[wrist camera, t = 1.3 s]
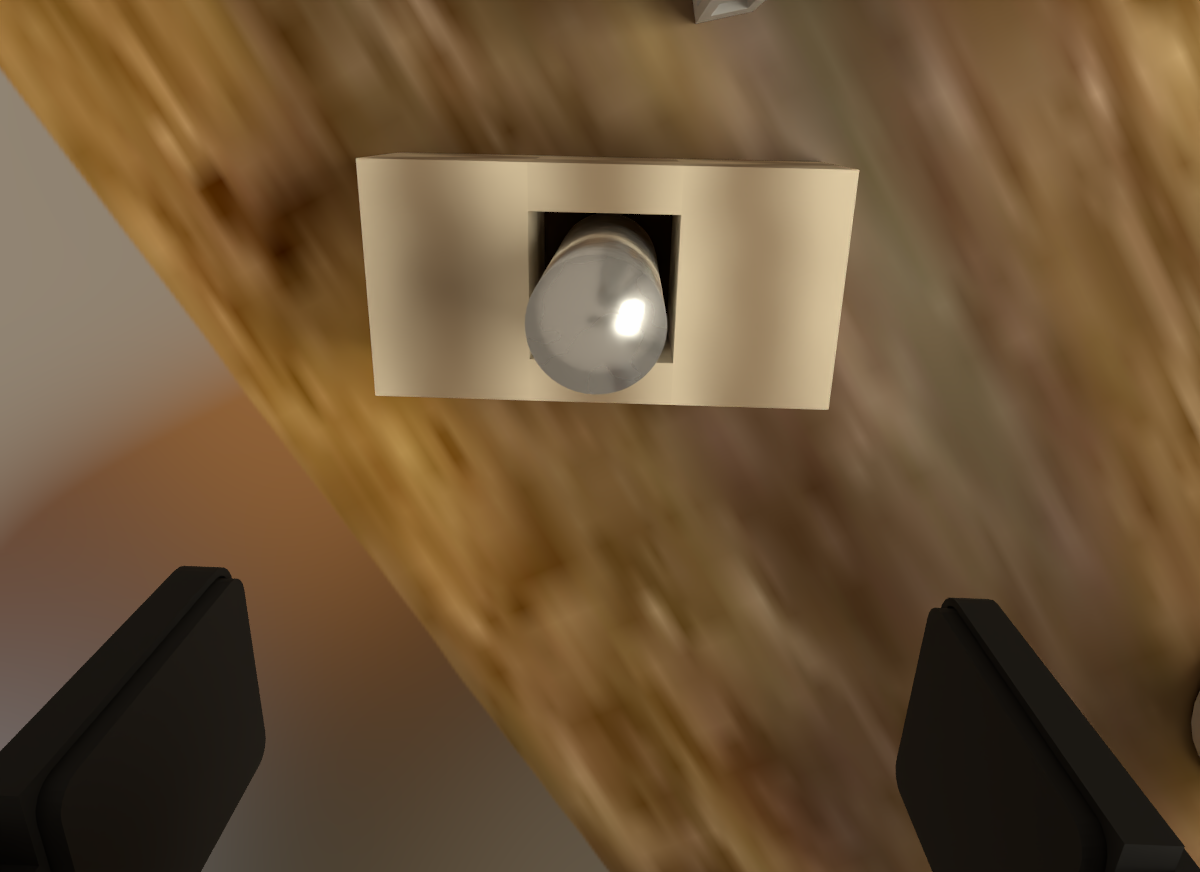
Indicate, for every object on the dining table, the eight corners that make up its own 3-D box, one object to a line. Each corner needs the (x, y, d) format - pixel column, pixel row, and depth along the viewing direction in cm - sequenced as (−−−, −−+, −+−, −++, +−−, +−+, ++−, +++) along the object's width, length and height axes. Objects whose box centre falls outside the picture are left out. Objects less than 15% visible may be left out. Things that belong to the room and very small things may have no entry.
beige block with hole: (822, 161, 34) (859, 169, 29) (799, 367, 38) (828, 409, 32) (399, 152, 35) (355, 158, 29) (413, 355, 38) (375, 395, 33)
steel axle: (659, 213, 35) (670, 256, 24) (654, 313, 37) (663, 396, 26) (558, 211, 36) (523, 252, 24) (557, 310, 37) (525, 392, 26)
